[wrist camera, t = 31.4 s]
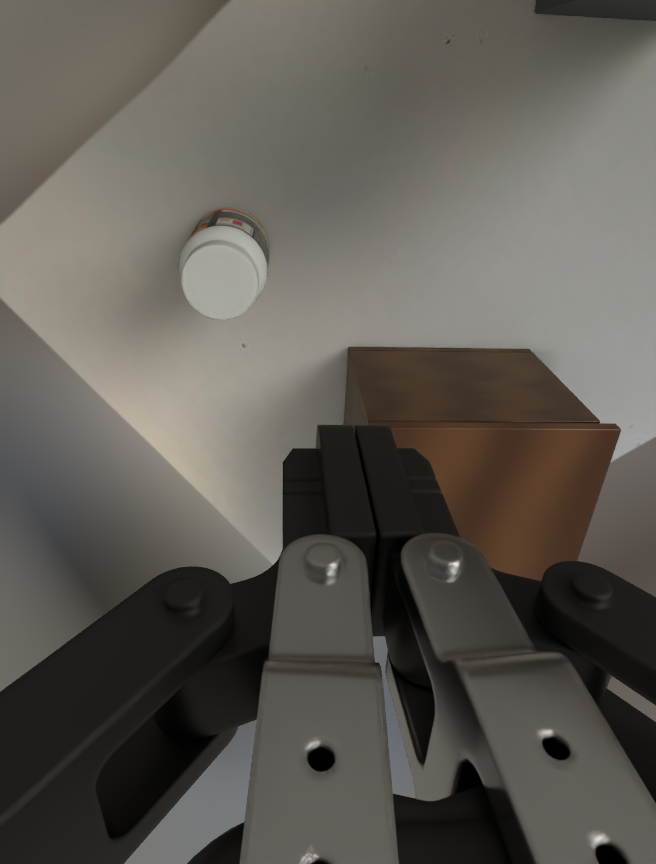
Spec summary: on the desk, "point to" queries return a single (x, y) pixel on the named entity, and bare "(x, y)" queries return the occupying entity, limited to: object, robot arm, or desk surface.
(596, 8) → the block
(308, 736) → the robot arm
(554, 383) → the chest
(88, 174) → the desk surface
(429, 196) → the desk surface
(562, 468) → the lid
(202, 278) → the pill bottle
